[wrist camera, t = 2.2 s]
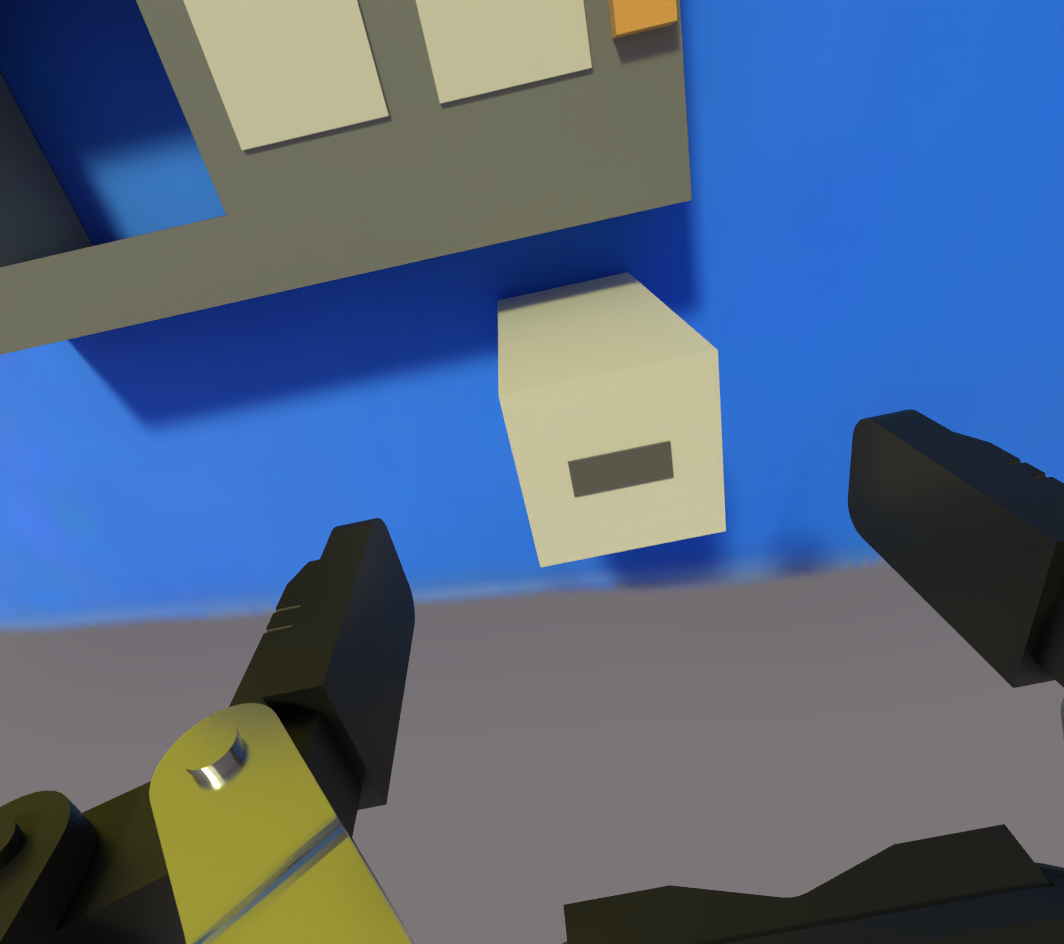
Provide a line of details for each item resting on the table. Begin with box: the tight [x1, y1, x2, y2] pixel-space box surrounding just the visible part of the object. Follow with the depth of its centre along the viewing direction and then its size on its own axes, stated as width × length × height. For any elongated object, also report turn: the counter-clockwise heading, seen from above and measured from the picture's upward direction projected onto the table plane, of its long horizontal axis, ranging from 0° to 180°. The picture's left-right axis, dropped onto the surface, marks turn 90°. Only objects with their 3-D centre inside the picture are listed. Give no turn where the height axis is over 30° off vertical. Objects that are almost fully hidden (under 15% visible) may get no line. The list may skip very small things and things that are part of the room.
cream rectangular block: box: [498, 272, 726, 567], centre depth 15 cm, size 4×4×8 cm
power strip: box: [0, 0, 692, 355], centre depth 13 cm, size 18×9×4 cm, turn 101°
